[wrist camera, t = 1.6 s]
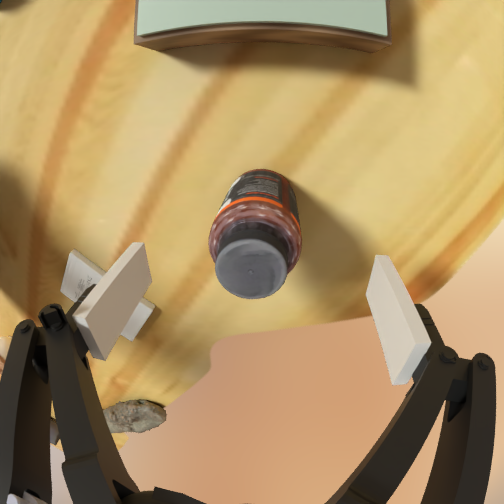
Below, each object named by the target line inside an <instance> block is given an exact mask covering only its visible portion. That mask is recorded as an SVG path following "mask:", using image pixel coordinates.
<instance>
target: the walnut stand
mask: <svg viewBox="0 0 504 504" xmlns="http://www.w3.org/2000/svg"><path fill="white" fill-rule="evenodd" d="M234 42H286V43H303V44H315V45H324V46H333V47H340V48H347V49H353V50H359V51H365V52H370V53H373V52H376V51H378V50H380V49H383V48H385V47H387V46H390V45H392V40H391V17H390V3H389V0H136V5H135V23H134V44H136V45H139V46H143V47H146V48H149V49H152V50H156V51H160V50H166V49H173V48H180V47H187V46H196V45H205V44H217V43H234Z"/></svg>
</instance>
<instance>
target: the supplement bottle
mask: <svg viewBox="0 0 504 504" xmlns="http://www.w3.org/2000/svg"><path fill="white" fill-rule="evenodd" d="M301 246H302V237H301V229H300V223H299V217H298V210H297V204H296V198H295V194H294V191H293V189H292V187H291V185H290V184H289V182H288V181H287V180H286V179H285V178H284V177H283V176H281V175H280V174H278V173H276V172H274V171H271V170H266V169H255V170H251V171H248V172H246V173H244V174H242V175H241V176H239V177H238V178H237V179H236V180H235V181H234V183H233V184H232V186H231V187H230V189H229V191H228V193H227V195H226V197H225V199H224V201H223V204H222V206H221V207H220V209H219V212H218V214H217V216H216V218H215V220H214V222H213V225H212V227H211V230H210V235H209V251H210V254H211V257H212V259H213V261H214V262H215V271H216V275H217V278H218V280H219V282H220V283H221V284H222V286H223V287H224V288H225V289H226V290H227V291H229V292H230V293H232V294H234V295H236V296H238V297H241V298H246V299H259V298H265V297H267V296H270V295H272V294H274V293H275V292H276V291H278V290H279V289H280V288H281V286H282V285H283V284H284V282H285V279H286V277H287V274H288V273H289V272H290V271H291V270H292V269H293V268H294V266H295V265H296V263H297V262H298V259H299V256H300V253H301Z"/></svg>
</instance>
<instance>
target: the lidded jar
mask: <svg viewBox="0 0 504 504" xmlns="http://www.w3.org/2000/svg"><path fill="white" fill-rule="evenodd" d="M11 340H12V337H11V336H8V337H7V336H2V337H0V374H1V375H2V372H3V368H4V364H5V360H6V357H7V353H8V350H9V346H10V343H11Z"/></svg>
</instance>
